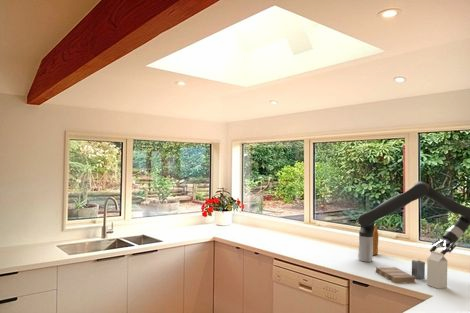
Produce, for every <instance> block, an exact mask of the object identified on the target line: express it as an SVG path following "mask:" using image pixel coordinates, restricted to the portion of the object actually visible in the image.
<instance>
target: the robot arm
mask: <svg viewBox="0 0 470 313" xmlns="http://www.w3.org/2000/svg"><path fill="white" fill-rule="evenodd" d="M424 197H427V198H429V199H430V200H432V201H434V202H436V203H437V204H438V205H439V206H441V208H444V209H445V210H447V211H449V212H451V214H455V215H460V216H459V217H458V219H457V220H456V221H455V222H454V223H453V225H451V227H449V228H448V229H447V230H446V231H445V232H444V234H443V235H442V238H441V239H440V237H437V238H436V239H435V240H434V241H433V242H432V243H431V245H432V247H431V248H430V249H429V252H430V254H431V253H432V251H434V252H436V251H437V249H441V248H443V249H442V250H441V251H440V252H439V253H442V254H443V256H444V257H445V255H446V254H447V253H451V252H453V251H454V249H455V248H456V246H457V245H456V243H457V242H458V241H459V240H460V238H462V236H463V235H464V233H465V232H466V231H467V230H468V228H469V227H470V207H469V206H466V205H462V204H460V203H459V202H457V201H455V200H454V199H452V198H450V197H448V196H446V195H444V194H442V193H440V192H439V191H438V190H436V189H434V188H433V187H432V186H430V185H429V184H428V183H427V182H425V181H424V180H423V181H422V180H420V181H417V182H415V183H414V184H413V186H412V187H411V188H409V189H407V190H406V191H405V192H403V193H399V194H397V195H393V196H392V197H390V198H388V199H387V200H385V201H383V202H382V203H380V204H379V205H377V206H376V207H375V208H373V209H371V210H369V211H367V212H364V213H362V214H360V215H359V216H358V219H357V223H358V225H360V230H359V232H358V234H359V235H358V256H357V257H358V260H359V261H360V262H366V263H372V262H373V256H374V255H373V233H374V226H375V223H376V221H378V220H379V219H382V218H385V217H386V216H389V215H391V214H394V213H395V212H398V211H399V210H402V208H404V207H406V206H407V205H409V204H410V203H412V202H415V201H417V200H419V199H421V198H424Z"/></svg>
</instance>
